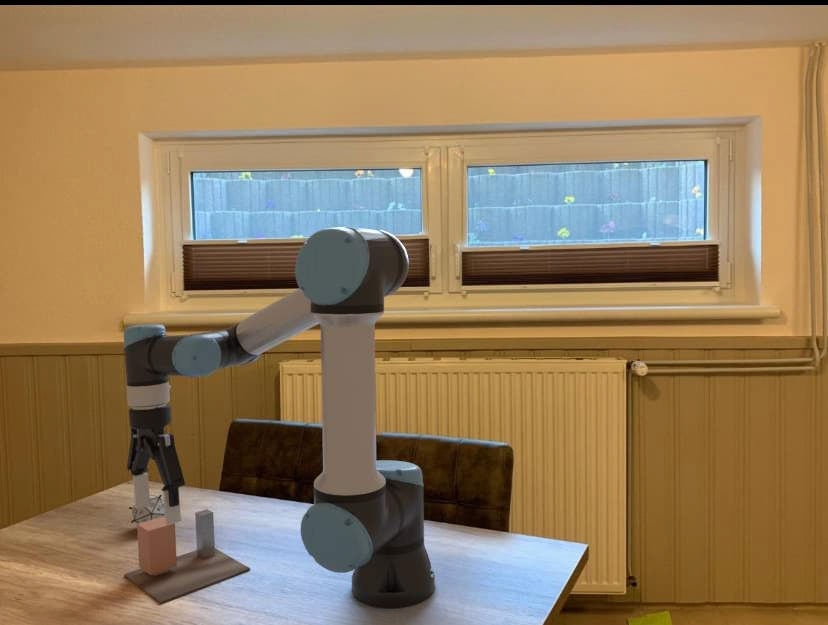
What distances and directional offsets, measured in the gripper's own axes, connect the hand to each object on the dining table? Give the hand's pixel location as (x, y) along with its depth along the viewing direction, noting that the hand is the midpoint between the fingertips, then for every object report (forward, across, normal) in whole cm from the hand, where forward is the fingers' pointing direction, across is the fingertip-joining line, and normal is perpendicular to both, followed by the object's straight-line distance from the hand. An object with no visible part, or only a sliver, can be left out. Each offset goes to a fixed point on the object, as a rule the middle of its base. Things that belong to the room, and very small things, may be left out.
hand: (157, 514), depth 130 cm
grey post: (+12, +1, -10) cm, 15 cm away
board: (+12, -3, -4) cm, 13 cm away
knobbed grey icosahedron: (+12, +25, -9) cm, 29 cm away
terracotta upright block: (+10, +1, 0) cm, 10 cm away
